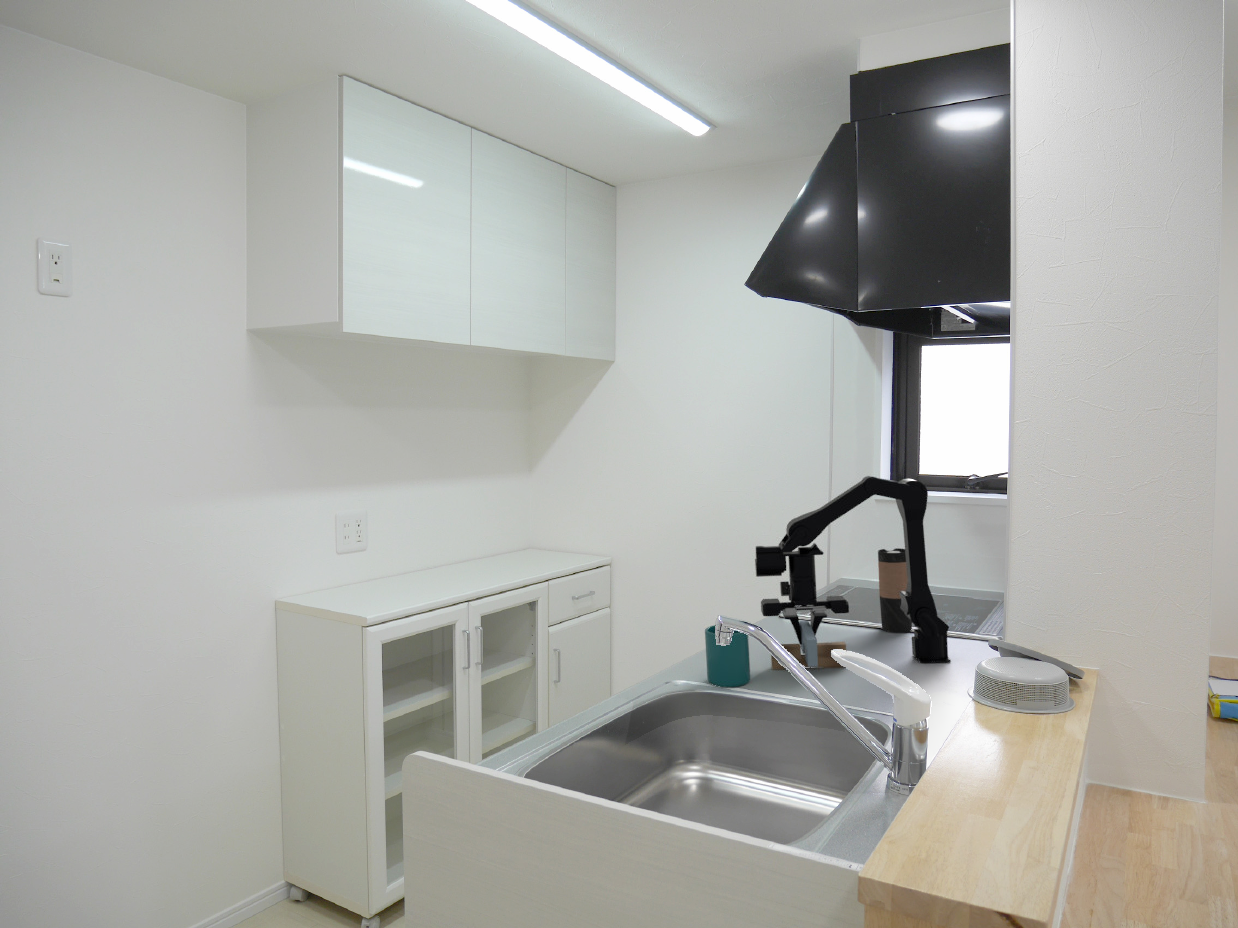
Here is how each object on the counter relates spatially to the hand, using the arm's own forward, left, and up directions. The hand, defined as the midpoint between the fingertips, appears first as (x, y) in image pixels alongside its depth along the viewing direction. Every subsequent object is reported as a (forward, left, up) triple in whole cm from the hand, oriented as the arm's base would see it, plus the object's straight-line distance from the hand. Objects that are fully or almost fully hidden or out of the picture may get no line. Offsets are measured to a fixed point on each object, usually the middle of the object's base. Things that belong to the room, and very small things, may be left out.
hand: (805, 643), depth 184 cm
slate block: (0, +4, -2) cm, 4 cm away
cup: (+17, +11, -4) cm, 21 cm away
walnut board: (0, +4, -4) cm, 6 cm away
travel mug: (-26, -25, -4) cm, 36 cm away
